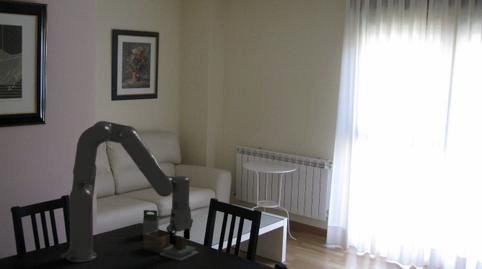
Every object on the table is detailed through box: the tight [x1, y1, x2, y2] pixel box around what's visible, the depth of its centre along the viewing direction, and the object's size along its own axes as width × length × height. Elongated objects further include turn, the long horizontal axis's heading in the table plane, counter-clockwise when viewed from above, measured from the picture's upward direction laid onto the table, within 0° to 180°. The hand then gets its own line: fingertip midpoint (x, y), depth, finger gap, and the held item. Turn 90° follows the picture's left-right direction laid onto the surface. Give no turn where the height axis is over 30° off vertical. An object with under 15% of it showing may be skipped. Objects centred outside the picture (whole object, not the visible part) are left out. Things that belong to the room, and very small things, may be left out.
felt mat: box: [159, 250, 200, 262], centre depth 249 cm, size 13×12×1 cm
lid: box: [163, 235, 196, 257], centre depth 248 cm, size 10×10×7 cm
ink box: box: [142, 209, 160, 237], centre depth 273 cm, size 7×4×13 cm, turn 84°
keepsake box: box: [143, 228, 172, 255], centre depth 255 cm, size 10×10×7 cm
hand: (179, 241), depth 248 cm, fingers open, 9 cm apart
